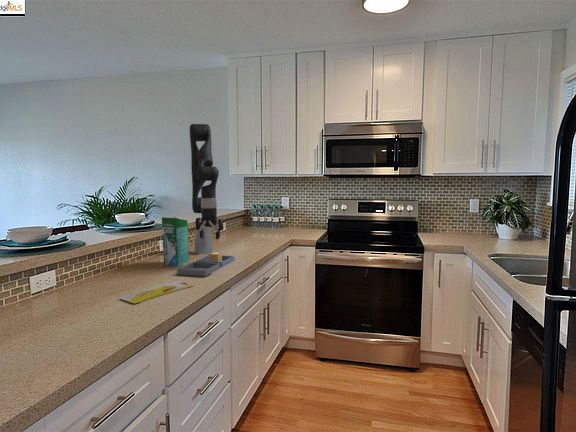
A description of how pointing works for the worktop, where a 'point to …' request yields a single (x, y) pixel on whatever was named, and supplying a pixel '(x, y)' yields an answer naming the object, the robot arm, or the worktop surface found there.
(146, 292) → the food package
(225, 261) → the slate-blue tray
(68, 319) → the worktop surface
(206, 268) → the charcoal tray
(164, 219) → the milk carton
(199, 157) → the robot arm
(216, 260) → the orange cube
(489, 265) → the worktop surface
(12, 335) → the worktop surface
